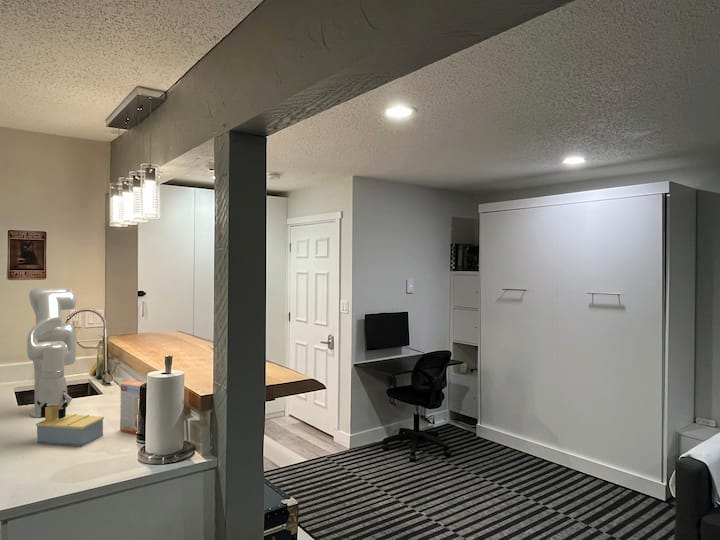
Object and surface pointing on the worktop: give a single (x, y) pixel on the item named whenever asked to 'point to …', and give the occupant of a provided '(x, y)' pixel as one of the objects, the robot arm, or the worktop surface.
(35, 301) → the robot arm
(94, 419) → the lid
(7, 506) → the worktop surface
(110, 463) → the worktop surface
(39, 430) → the tub
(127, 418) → the cracker box
